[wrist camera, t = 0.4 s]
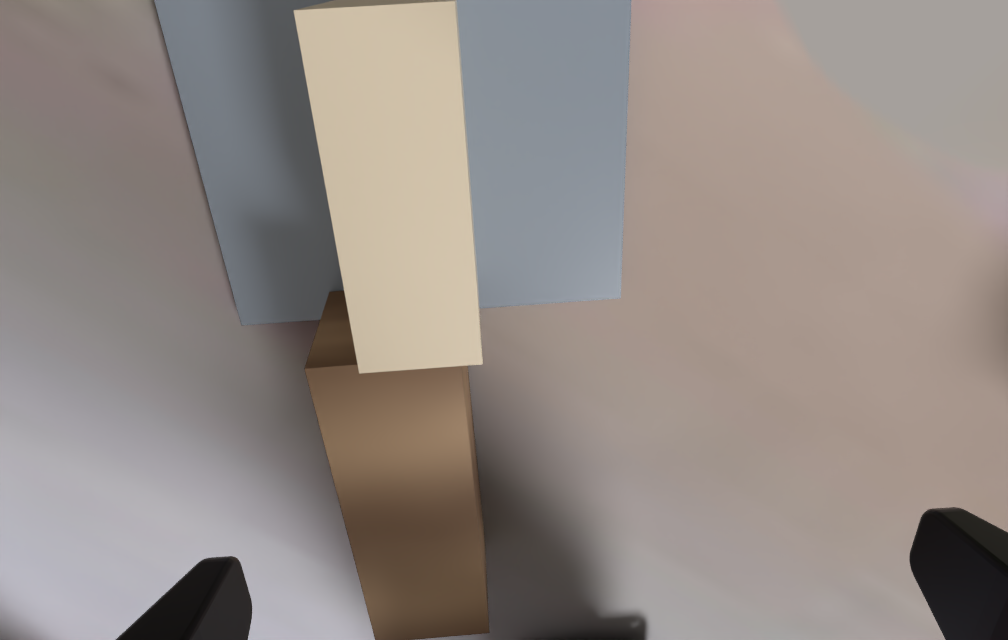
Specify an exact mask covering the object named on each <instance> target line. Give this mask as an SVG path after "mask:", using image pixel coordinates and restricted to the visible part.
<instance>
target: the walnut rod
mask: <svg viewBox="0 0 1008 640" xmlns="http://www.w3.org/2000/svg"><path fill="white" fill-rule="evenodd" d="M305 373H306V377H307V381H308V384H309V388H310V392H311V396H312V400H313V403H314V407H315V411H316V415H317V419H318V423H319V426H320V430H321V434H322V438H323V442H324V446H325V449H326V453H327V457H328V461H329V465H330V468H331V472H332V476H333V480H334V484H335V488H336V491H337V495H338V499H339V503H340V507H341V510H342V514H343V518H344V522H345V526H346V530H347V533H348V537H349V541H350V545H351V549H352V552H353V556H354V560H355V564H356V568H357V572H358V575H359V579H360V583H361V587H362V591H363V594H364V598H365V602H366V606H367V610H368V614H369V617H370V621H371V625H372V629H373V633H374V636H375V640H415V639H426V638H437V637H448V636H460V635H471V634H482V633H489V616H488V595H487V574H486V553H485V538H484V528H483V517H482V507H481V496H480V486H479V476H478V466H477V456H476V446H475V436H474V426H473V416H472V405H471V395H470V385H469V375H468V365H467V366H454V367H440V368H427V369H413V370H400V371H386V372H373V373H359V370H358V364H357V359H356V353H355V348H354V342H353V336H352V331H351V325H350V320H349V314H348V309H347V303H346V298H345V292H344V291H333V292H329V294H328V297H327V301H326V304H325V307H324V310H323V313H322V316H321V319H320V322H319V325H318V328H317V331H316V335H315V338H314V341H313V344H312V347H311V350H310V353H309V356H308V359H307V362H306V365H305Z"/></svg>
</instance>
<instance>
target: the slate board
mask: <svg viewBox="0 0 1008 640" xmlns="http://www.w3.org/2000/svg"><path fill="white" fill-rule="evenodd" d="M154 1H155V5H156V9H157V13H158V16H159V20H160V24H161V27H162V31H163V35H164V39H165V42H166V46H167V50H168V54H169V57H170V61H171V65H172V68H173V72H174V76H175V80H176V83H177V87H178V91H179V95H180V98H181V102H182V106H183V109H184V113H185V117H186V121H187V124H188V128H189V132H190V136H191V139H192V143H193V147H194V150H195V154H196V158H197V162H198V165H199V169H200V173H201V176H202V180H203V184H204V188H205V191H206V195H207V199H208V203H209V206H210V210H211V214H212V217H213V221H214V225H215V229H216V232H217V236H218V240H219V244H220V247H221V251H222V255H223V258H224V262H225V266H226V270H227V273H228V277H229V281H230V284H231V288H232V292H233V296H234V299H235V303H236V307H237V311H238V314H239V318H240V322H241V325H255V324H269V323H283V322H297V321H310V320H320V319H321V316H322V313H323V310H324V307H325V304H326V301H327V297H328V294H329V292H333V291H344V292H345V298H346V303H347V309H348V314H349V320H350V325H351V331H352V336H353V342H354V348H355V353H356V359H357V364H358V370H359V373H373V372H386V371H400V370H413V369H427V368H440V367H454V366H467V365H481V364H483V361H482V344H481V327H480V310H479V308H492V307H506V306H520V305H534V304H548V303H562V302H576V301H590V300H604V299H618V298H621V273H622V246H623V218H624V190H625V162H626V134H627V106H628V79H629V51H630V23H631V0H154Z"/></svg>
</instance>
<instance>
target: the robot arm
mask: <svg viewBox="0 0 1008 640" xmlns="http://www.w3.org/2000/svg"><path fill="white" fill-rule="evenodd" d="M910 566H911V570H912V572H913V575H914V577H915V579H916V581H917V583H918V585H919V587H920V589H921V591H922V593H923V595H924V597H925V599H926V601H927V603H928V605H929V607H930V609H931V611H932V613H933V615H934V617H935V619H936V621H937V623H938V625H939V627H940V629H941V631H942V633H943V635H944V637H945V639H946V640H1008V532H1006V531H1004V530H1002V529H1000V528H998V527H996V526H994V525H992V524H990V523H989V522H987V521H985V520H983V519H981V518H979V517H977V516H975V515H973V514H971V513H970V512H968V511H966V510H964V509H961V508H955V507H951V508H936V509H929V510H927V511H926V512H925V513H924V514H923V515H922V517H921V519H920V523H919V526H918V529H917V532H916V535H915V538H914V542H913V545H912V548H911V551H910ZM251 619H252V602H251V598H250V594H249V591H248V587H247V584H246V580H245V577H244V574H243V570H242V567H241V564H240V562H239V560H238V559H237V558H236V557H232V556H228V557H214V558H206V559H204V560H202V561H200V562H199V563H198V564H197V565H196V566H194V567H193V568H192V569H191V570H190V571H189V572H188V573H187V574H186V575H185V576H184V577H183V578H182V579H180V580H179V581H178V582H177V583H176V584H175V585H174V586H173V587H172V588H171V589H170V590H169V591H168V592H166V593H165V594H164V595H163V596H162V597H161V598H160V599H159V600H158V601H157V602H156V603H155V604H154V605H152V606H151V607H150V608H149V609H148V610H147V611H146V612H145V613H144V614H143V615H142V616H141V617H140V618H139V619H137V620H136V621H135V622H134V623H133V624H132V625H131V626H130V627H129V628H128V629H127V630H126V631H125V632H123V633H122V634H121V635H120V636H119V637H118V638H117V639H116V640H248V635H249V630H250V624H251Z"/></svg>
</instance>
